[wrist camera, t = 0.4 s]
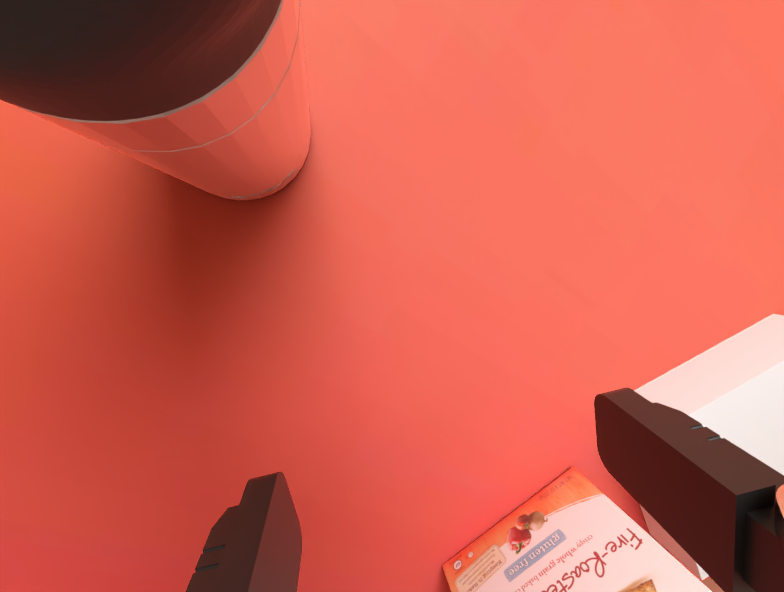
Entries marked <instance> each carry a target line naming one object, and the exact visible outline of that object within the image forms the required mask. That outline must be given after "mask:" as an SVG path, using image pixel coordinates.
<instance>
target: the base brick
mask: <svg viewBox="0 0 784 592" xmlns="http://www.w3.org/2000/svg"><path fill="white" fill-rule="evenodd" d="M634 391H635V392H637V393H638V394H640V395H641V396H643V397H644V398H646V399H647V400H649V401H650V402H652V403H655V402H657V403H660V404H663V405H666V406H669V407H671V408H674V409H677V410H680V411H682V412H684V413H685V414H687V415H688V416H690V417H692V418H693V419H695V420H696V421H698V422H700V423H701V424H702V426H703V427H708V428H709V429H711V430H712V431H714V432H715V433H717V434H719V435H720V437H721V438H725V439H727V440H728V441H730V442H731V443H733V444H735V445H736V446H738V447H739V448H741V449H743V450H744V451H746V452H747V453H749V454H750V455H752V456H754V457H755V458H757V459H758V460H760V461H762V462H763V463H765V464H766V465H768V466H770V467H771V468H773V469H774V470H776V471H778V472H779V473H781V474H782V475H784V315H777V314H772V315H770V316H768V317H766V318H764V319H763V320H761V321H759V322H757V323H755V324H754V325H752V326H750V327H748V328H746V329H744V330H743V331H741V332H739V333H737V334H735V335H734V336H732V337H730V338H728V339H726V340H724V341H723V342H721V343H719V344H717V345H715V346H714V347H712V348H710V349H708V350H706V351H705V352H703V353H701V354H699V355H697V356H695V357H694V358H692V359H690V360H688V361H686V362H685V363H683V364H681V365H679V366H677V367H676V368H674V369H672V370H670V371H668V372H666V373H665V374H663V375H661V376H659V377H657V378H656V379H654V380H652V381H650V382H648V383H646V384H645V385H643V386H641V387H639V388H637V389H636V390H634ZM639 505H640V504H639ZM640 508H641V510H642V513H643V516H644V519H645V521H646V524H647V527H648V530H649V532H650V535H651V536H653V537H654V538H655V539H656V540H657V541H658V542H659V543H660V544H662V545H663V546H664V547H665V548H666V549H667V550H668V551H669V552H671V553H672V554H673V555H674V556H675V557H676V558H677V559H678V560H680V561H681V562H682V563H683V564H684V565H685V566H686V567H688V568H689V569H690V570H691V571H692V572H693V573H694V574H695V575H697V576H698V577H699V578H700V579H701V580H704V579H705V578H707V577H708V576H709V575H708V574H707V573H706V572H705V571H704V570H703V569H702V568H701V567H700V566H699V565H698V564H697V563H696V562H695V561H694V560H693V559H692V558H691V557H690V556H689V554H688V553H687V552H686V551H685V550H684V549H683V548H682V547H681V546H680V545H679V544H678V543H677V542H676V541H675V540H674V539H673V538H672V537H671V536H670V535H669V534H668V533H667V532H666V531H665V530H664V529H663V528H662V527H661V526H660V524H659V523H658V522H657V521H656V520H655V519H654V518H653V517H652V516H651V515H650V514H649V513H648V512H647V511H646V510H645V509H644V508H643V507H642V506H641V505H640Z"/></svg>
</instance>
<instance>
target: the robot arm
mask: <svg viewBox="0 0 784 592" xmlns="http://www.w3.org/2000/svg"><path fill="white" fill-rule="evenodd" d="M0 99H1V100H3V101H5V102H8V103H10V104H13V105H15V106H17V107H19V108H21V109H24V110H26V111H28V112H30V113H33V114H35V115H37V116H39V117H42V118H44V119H46V120H48V121H50V122H53V123H55V124H57V125H59V126H62V127H64V128H66V129H69V130H71V131H73V132H75V133H78V134H80V135H82V136H85V137H87V138H89V139H91V140H94V141H96V142H98V143H100V144H102V145H105V146H107V147H109V148H111V149H113V150H116V151H118V152H120V153H122V154H125V155H127V156H129V157H131V158H133V159H136V160H138V161H140V162H142V163H144V164H147V165H149V166H151V167H153V168H155V169H158V170H160V171H162V172H164V173H167V174H169V175H171V176H173V177H175V178H178V179H180V180H182V181H184V182H186V183H189V184H191V185H193V186H195V187H197V188H199V189H202V190H204V191H206V192H208V193H211V194H214V195H217V196H220V197H223V198H226V199H233V200H253V199H259V198H262V197H266V196H269V195H272V194H273V193H275V192H277V191H279V190H280V189H282V188H284V187H285V186H286V185H287V184H288V183H289V182H290V181H292V180H293V179H294V178H295V176H296V175H297V174H298V172H299V171H300V169H301V168H302V166H303V164H304V162H305V159H306V157H307V154H308V152H309V146H310V140H311V128H310V110H309V98H308V87H307V75H306V64H305V52H304V41H303V29H302V18H301V6H300V0H0ZM594 406H595V420H596V434H597V447H598V452H599V455H600V458H601V460H602V462H603V464H604V466H605V467H606V469H607V470H608V471H609V473H610V474H611V475H612V476H613V477H614V478H615V479H616V480H617V481H618V482H619V483H620V484H621V485H622V486H623V487H624V488H625V489H626V490H627V491H628V492H629V493H630V494H631V496H632V497H633V498H634V499H635V500H636V501H637V502H638V503H639V504H640V505H641V506H642V507H643V508H644V509H645V510H646V511H647V512H648V513H649V514H650V515H651V516H652V517H653V518H654V519H655V520H656V521H657V522H658V523H659V524H660V526H661V527H662V528H663V529H664V530H665V531H666V532H667V533H668V534H669V535H670V536H671V537H672V538H673V539H674V540H675V541H676V542H677V543H678V544H679V545H680V546H681V547H682V548H683V549H684V550H685V551H686V552H687V553H688V554H689V556H690V557H691V558H692V559H693V560H694V561H695V562H696V563H697V564H698V565H699V566H700V567H701V568H702V569H703V570H704V571H705V572H706V573H707V574H708V575H709V576H710V577H711V578H712V579H713V580H714V581H715V582H716V583H717V584H718V585H719V586H720V587H721V588H722V590H723V591H724V592H784V475H782V474H781V473H779V472H778V471H776V470H774V469H773V468H771V467H770V466H768V465H766V464H765V463H763V462H762V461H760V460H758V459H757V458H755V457H754V456H752V455H750V454H749V453H747V452H746V451H744V450H743V449H741V448H739V447H738V446H736V445H735V444H733V443H731V442H730V441H728V440H727V439H725V438H721V437H720V435H719V434H717V433H715V432H714V431H712V430H711V429H709V428H708V427H703V426H702V424H701V423H700V422H698V421H696V420H695V419H693V418H692V417H690V416H688V415H687V414H685V413H684V412H682V411H680V410H677V409H674V408H671V407H669V406H666V405H663V404H660V403H657V402H655V403H652V402H650V401H649V400H647V399H646V398H644V397H643V396H641V395H640V394H638V393H637V392H635V391H634V390H632V389H630V388H623V389H619V390H615V391H611V392H607V393H603V394H599V395H597V396H596V397H595V401H594ZM301 553H302V536H301V528H300V523H299V520H298V517H297V514H296V510H295V507H294V504H293V501H292V498H291V495H290V492H289V488H288V485H287V482H286V479H285V477H284V475H283V473H282V472H278V473H274V474H269V475H265V476H261V477H257V478H253V479H250V480H249V481H248V482H247V485H246V487H245V490H244V493H243V496H242V499H241V502H240V505H238V506H234V507H230V508H228V509H227V510H226V511H225V513H224V514H223V515H222V516H221V518H220V519H219V520H218V521H217V523H216V524H215V525H214V526H213V528H212V529H211V532H210V534H209V537H208V539H207V541H206V544H205V546H204V549H203V554H201V556H200V559H199V561H198V563H197V566H196V568H195V570H196V572H195V573H194V574H193V576H192V578H191V580H190V583H189V585H188V588H187V590H186V592H297V585H298V577H299V569H300V561H301Z"/></svg>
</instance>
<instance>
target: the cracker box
mask: <svg viewBox="0 0 784 592" xmlns="http://www.w3.org/2000/svg"><path fill="white" fill-rule="evenodd" d="M442 568H443V570H444V573H445V576H446V579H447V582H448V585H449V588H450V591H451V592H712V591H711V590H710V589H708V588H707V587H706V586H705V585H704V584H703V583H702V582H701V581H700V580H699V579H697V578H696V577H695V576H694V575H693V574H692V573H691V572H690V571H689V570H687V569H686V568H685V567H684V566H683V565H682V564H681V563H680V562H679V561H677V560H676V559H675V558H674V557H673V556H672V555H671V554H670V553H669V552H668V551H666V550H665V549H664V548H663V547H662V546H661V545H660V544H659V543H658V542H657V541H655V540H654V539H653V538H652V537H651V536H650V535H649V534H648V533H647V532H646V531H644V530H643V529H642V528H641V527H640V526H639V525H638V524H637V523H636V522H635V521H633V520H632V519H631V518H630V517H629V516H628V515H627V514H626V513H625V512H624V511H622V510H621V509H620V508H619V507H618V506H617V505H616V504H614V503H613V502H612V501H611V500H610V499H609V498H608V497H607V496H606V495H604V494H603V493H602V492H601V491H600V490H599V489H598V488H596V487H595V486H594V485H593V484H592V483H591V482H590V481H589V480H588V479H586V478H585V477H584V476H583V475H582V474H581V473H580V472H579V471H578V470H576V469H575V468H574V467H571V468H570V469H569V470H567V471H566V472H565V473H564V474H562V475H561V476H560V477H558V478H557V479H556V480H554V481H553V482H552V483H550V484H549V485H548V486H546V487H545V488H544V489H542V490H541V491H540V492H539V493H537V494H536V495H535V496H533V497H532V498H531V499H529V500H528V501H527V502H525V503H524V504H523V505H521V506H520V507H519V508H517V509H516V510H515V511H514V512H512V513H511V514H509V515H508V516H507V517H506V518H504V519H503V520H501V521H500V522H499V523H497V524H496V525H495V526H494V527H492V528H491V529H490V530H488V531H487V532H486V533H484V534H483V535H482V536H480V537H479V538H478V539H476V540H475V541H474V542H472V543H471V544H470V545H468V546H467V547H466V548H464V549H463V550H462V551H460V552H459V553H458V554H456V555H455V556H454V557H452V558H451V559H450V560H449V561H447V562H446V563H444V564H443V566H442Z"/></svg>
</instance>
